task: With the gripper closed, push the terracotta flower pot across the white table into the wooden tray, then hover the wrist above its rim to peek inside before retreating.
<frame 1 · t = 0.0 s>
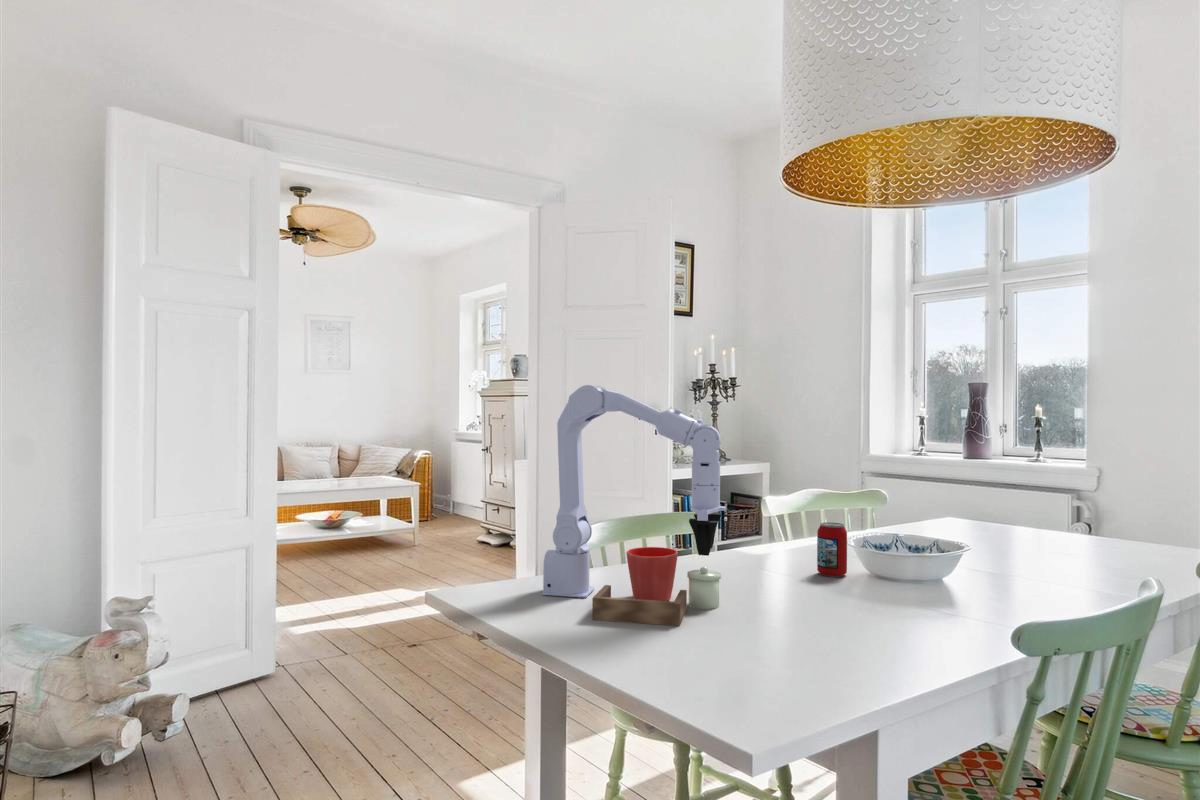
hand: (705, 551, 153), 10 cm above the table, fingers open, 7 cm apart
green jar: (703, 605, 150), on the table
wooden tray: (640, 614, 143), on the table
flower pot: (651, 599, 156), on the table
beverage can: (832, 575, 179), on the table
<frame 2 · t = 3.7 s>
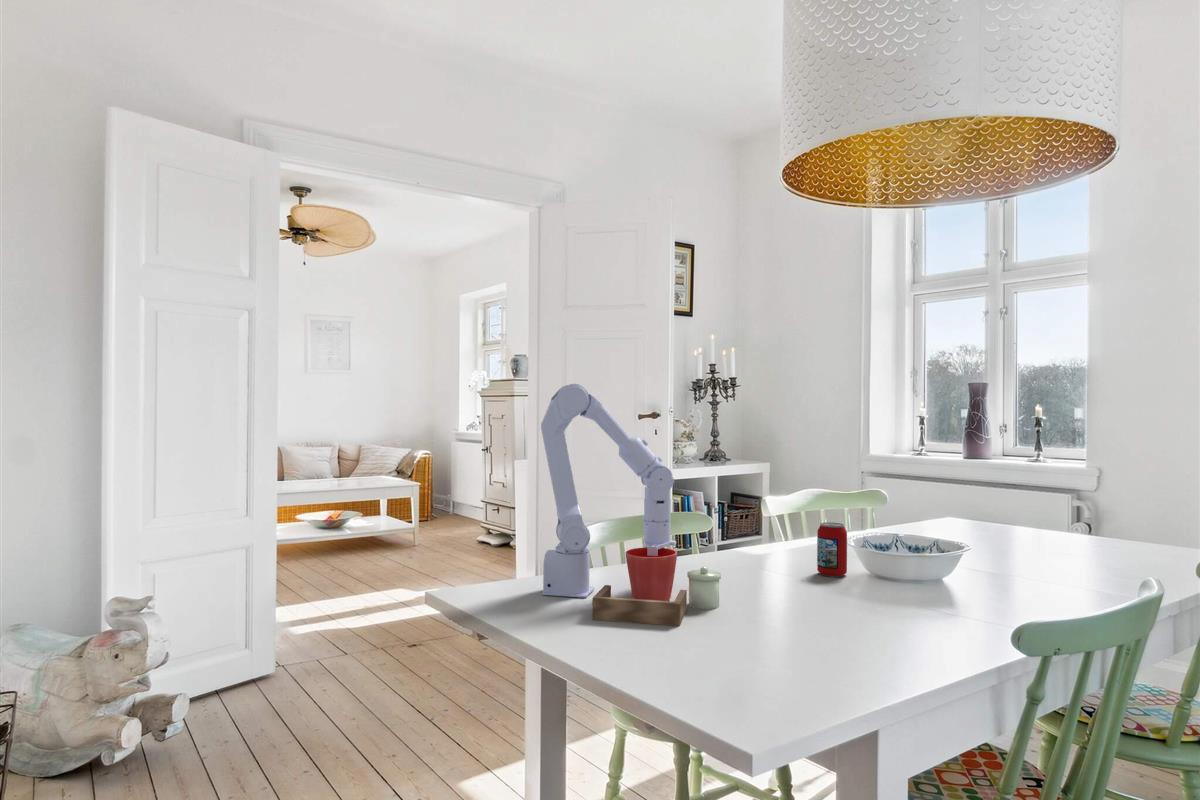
hand: (657, 583, 162), 1 cm above the table, fingers closed
flower pot: (651, 599, 155), on the table, touching gripper
everything else where it was.
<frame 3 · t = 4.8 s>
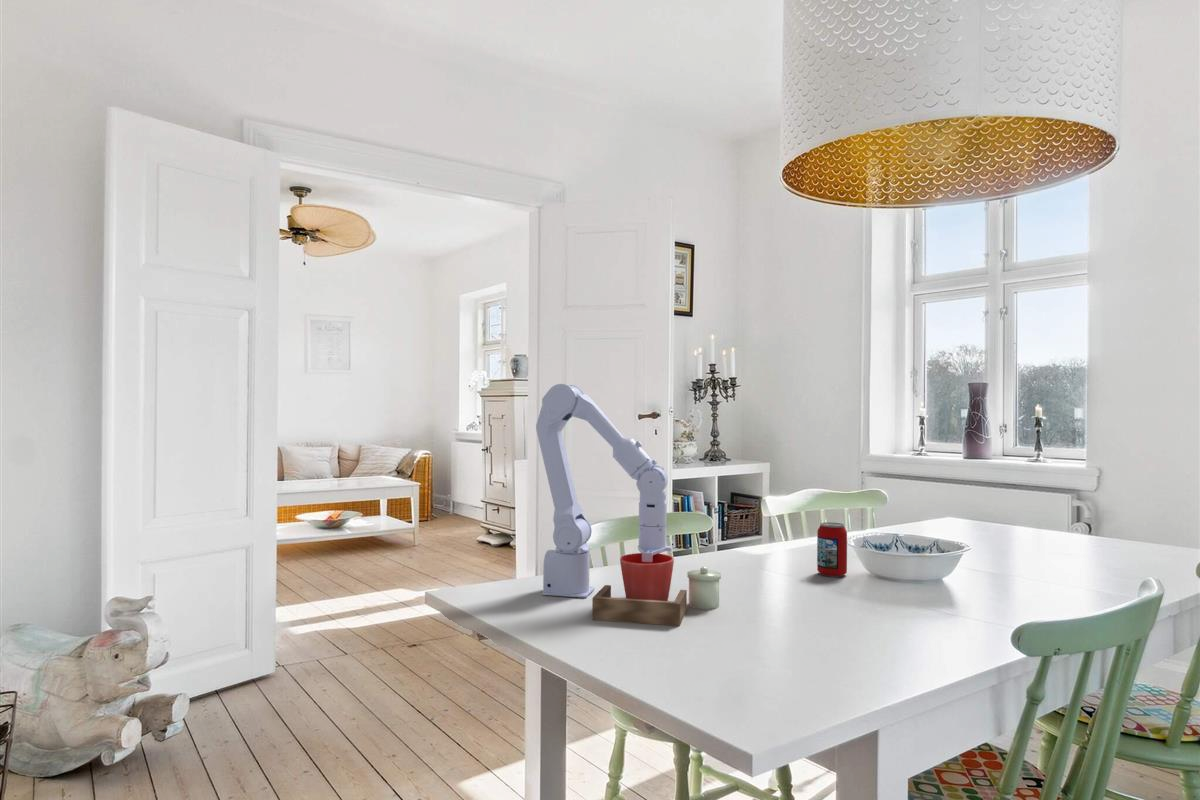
hand: (652, 590, 156), 1 cm above the table, fingers closed
flower pot: (646, 608, 148), on the table, touching gripper
everything else where it was.
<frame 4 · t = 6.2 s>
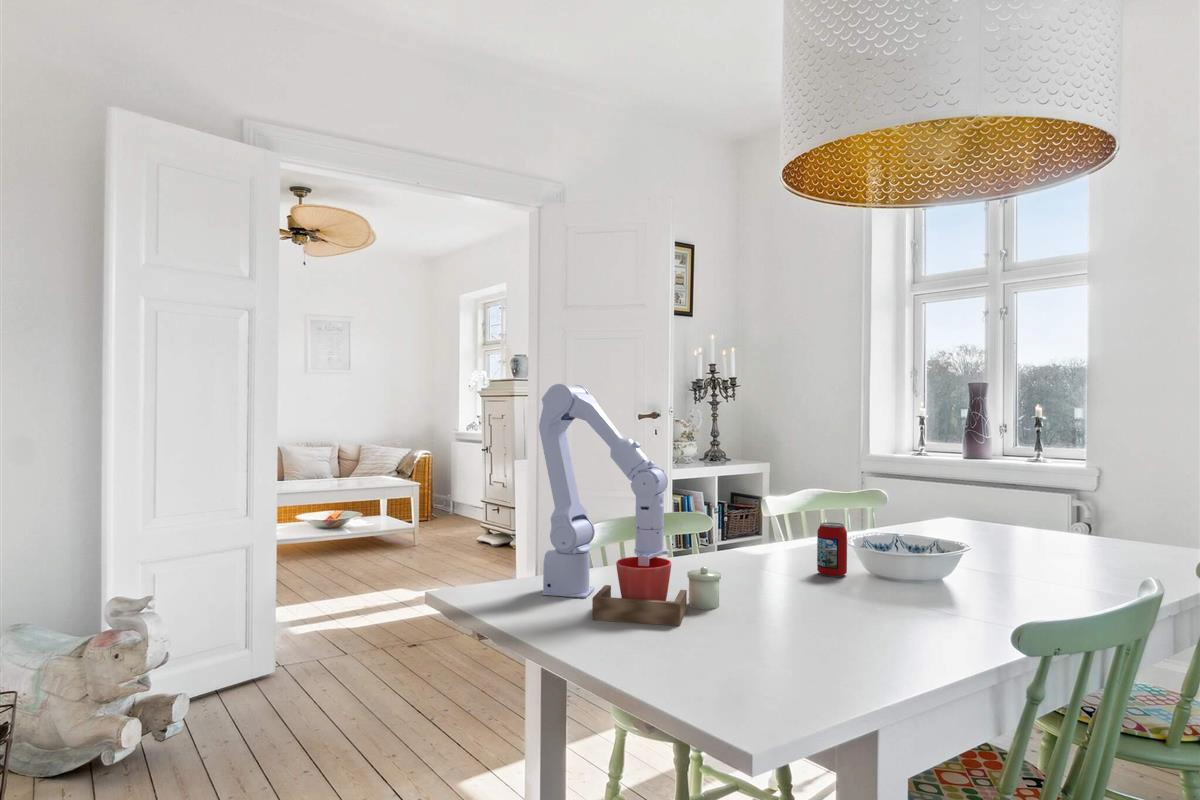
hand: (649, 595, 152), 1 cm above the table, fingers closed
flower pot: (643, 613, 145), on the table, touching gripper
everything else where it was.
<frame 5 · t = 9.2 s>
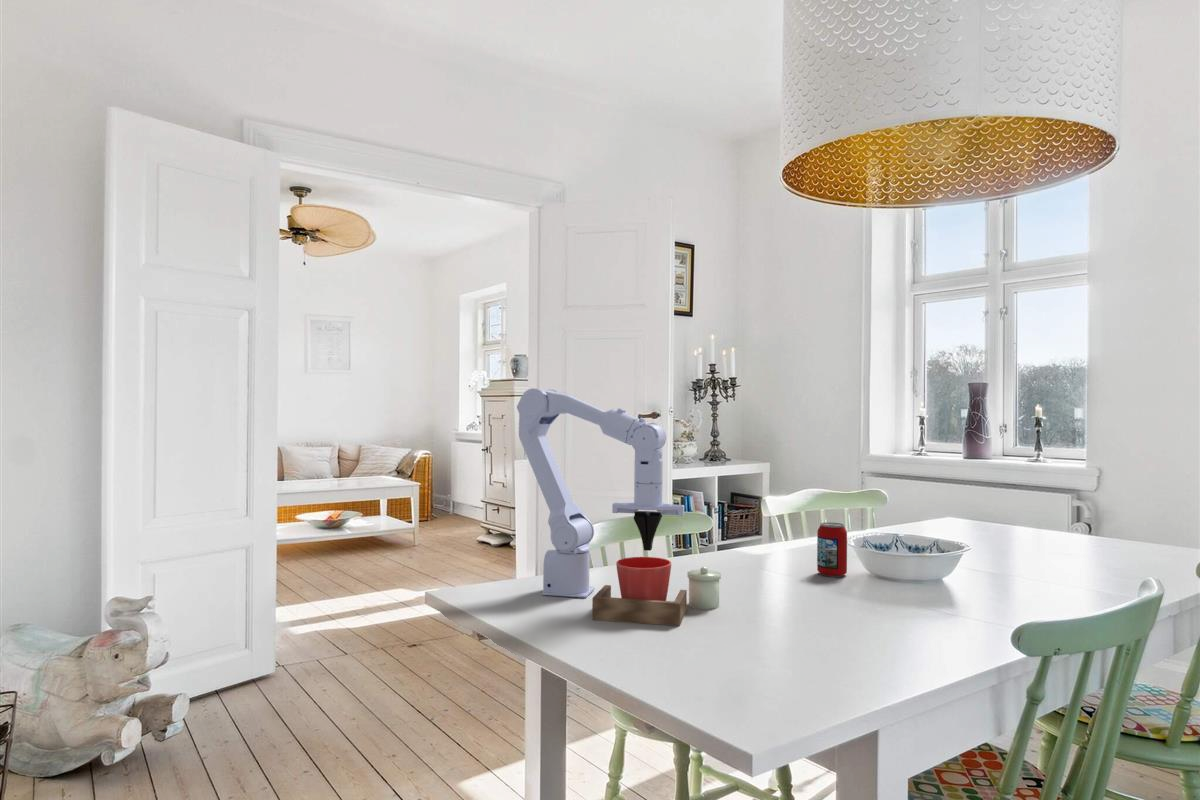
hand: (647, 549, 153), 10 cm above the table, fingers closed
flower pot: (643, 613, 145), on the table
everything else where it was.
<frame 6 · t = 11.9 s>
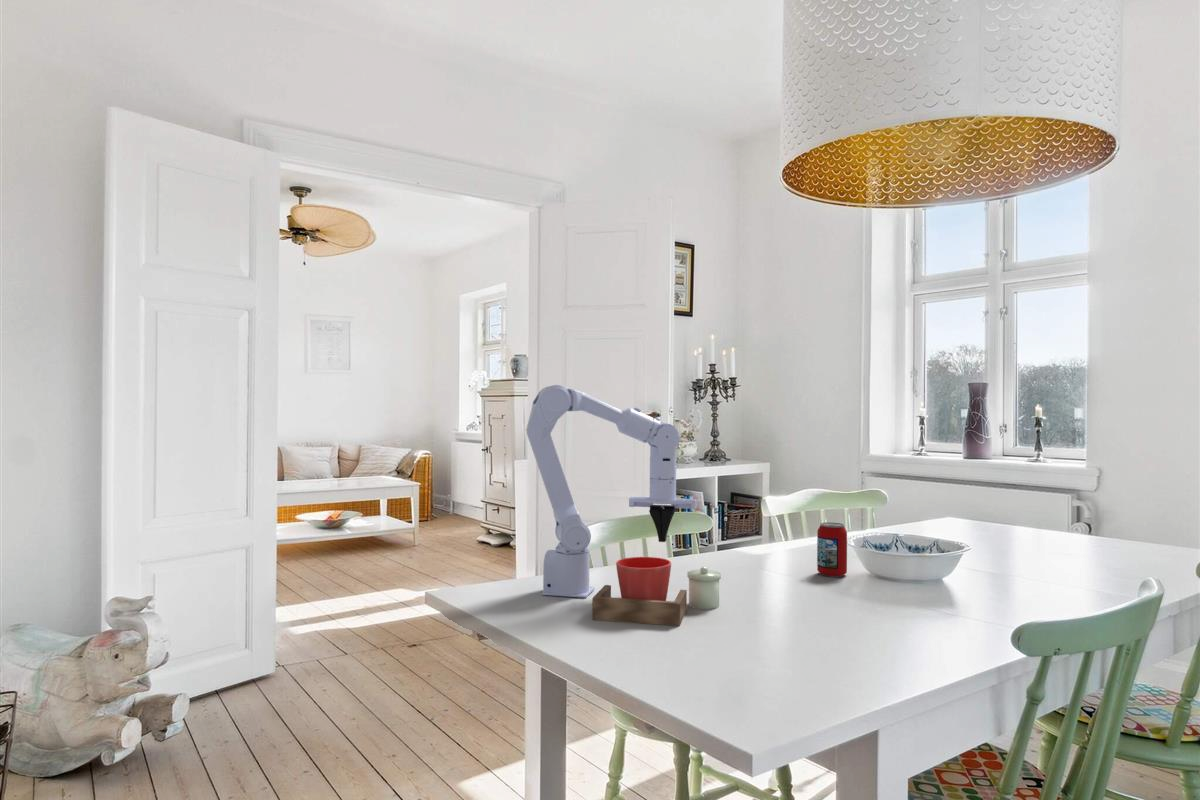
hand: (662, 541, 163), 10 cm above the table, fingers closed
nothing on the table moved.
at the end: flower pot inside the target area (0.4 cm from its centre), on the table; flower pot tilted 0°; flower pot moved 11.1 cm from its start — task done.
